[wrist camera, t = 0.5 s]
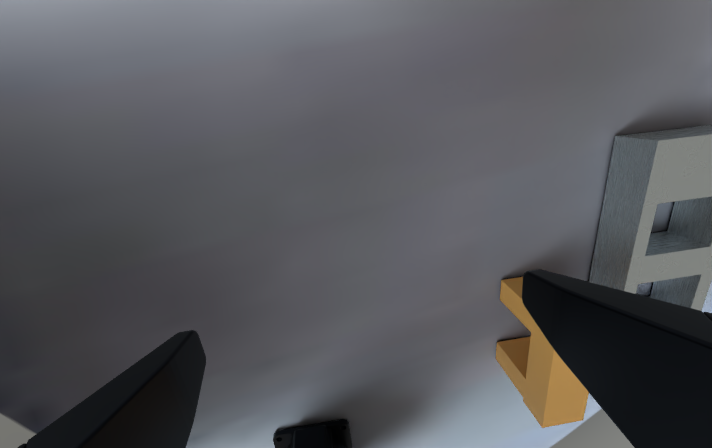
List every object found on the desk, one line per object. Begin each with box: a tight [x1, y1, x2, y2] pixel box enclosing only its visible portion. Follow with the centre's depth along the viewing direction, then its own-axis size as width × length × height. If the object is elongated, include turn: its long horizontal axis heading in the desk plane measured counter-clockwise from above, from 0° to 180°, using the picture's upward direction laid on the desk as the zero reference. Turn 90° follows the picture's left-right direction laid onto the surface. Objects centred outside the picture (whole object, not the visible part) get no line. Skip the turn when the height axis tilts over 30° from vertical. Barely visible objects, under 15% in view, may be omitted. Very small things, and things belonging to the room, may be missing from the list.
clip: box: [496, 277, 589, 428], centre depth 24 cm, size 8×3×6 cm, turn 5°
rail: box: [589, 125, 712, 311], centre depth 24 cm, size 18×7×3 cm, turn 5°
